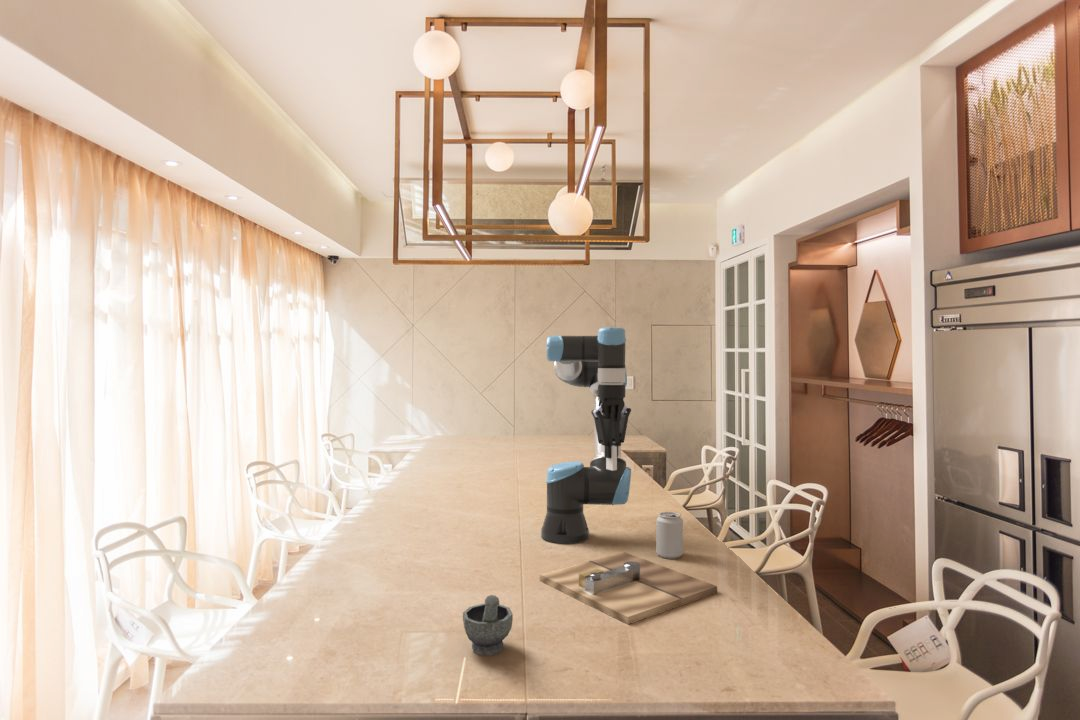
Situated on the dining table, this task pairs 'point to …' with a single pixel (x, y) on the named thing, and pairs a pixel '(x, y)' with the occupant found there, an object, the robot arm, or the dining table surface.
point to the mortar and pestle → (487, 626)
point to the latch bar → (612, 577)
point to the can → (669, 535)
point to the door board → (630, 588)
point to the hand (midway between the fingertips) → (611, 469)
